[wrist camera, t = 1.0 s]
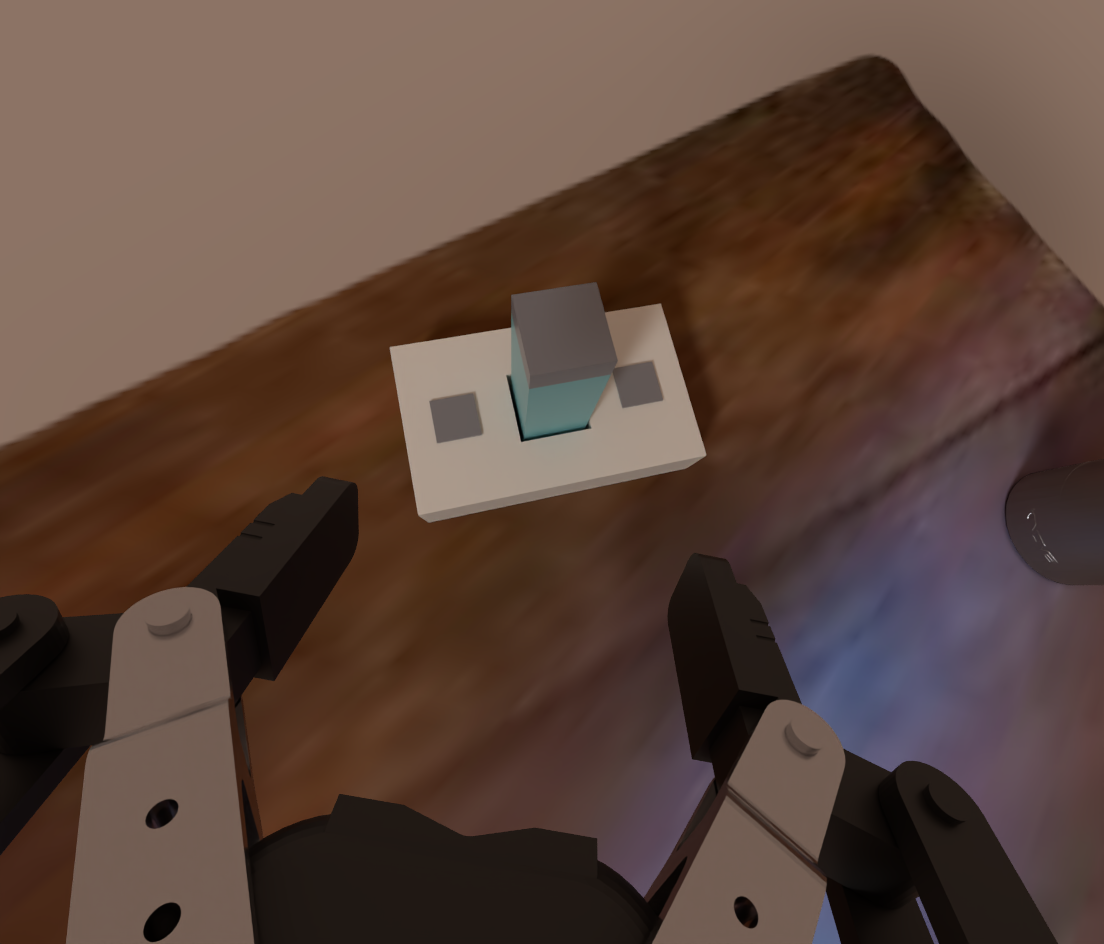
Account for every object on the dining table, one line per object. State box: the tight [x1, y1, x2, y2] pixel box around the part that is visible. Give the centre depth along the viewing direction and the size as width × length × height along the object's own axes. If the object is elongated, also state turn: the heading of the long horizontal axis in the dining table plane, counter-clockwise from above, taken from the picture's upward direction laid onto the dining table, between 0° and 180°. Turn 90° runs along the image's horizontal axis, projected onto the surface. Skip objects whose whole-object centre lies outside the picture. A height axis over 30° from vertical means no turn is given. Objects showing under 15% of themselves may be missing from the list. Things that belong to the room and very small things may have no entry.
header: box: [390, 304, 706, 523], centre depth 35 cm, size 20×12×4 cm, turn 103°
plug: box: [511, 282, 618, 442], centre depth 30 cm, size 4×4×14 cm
